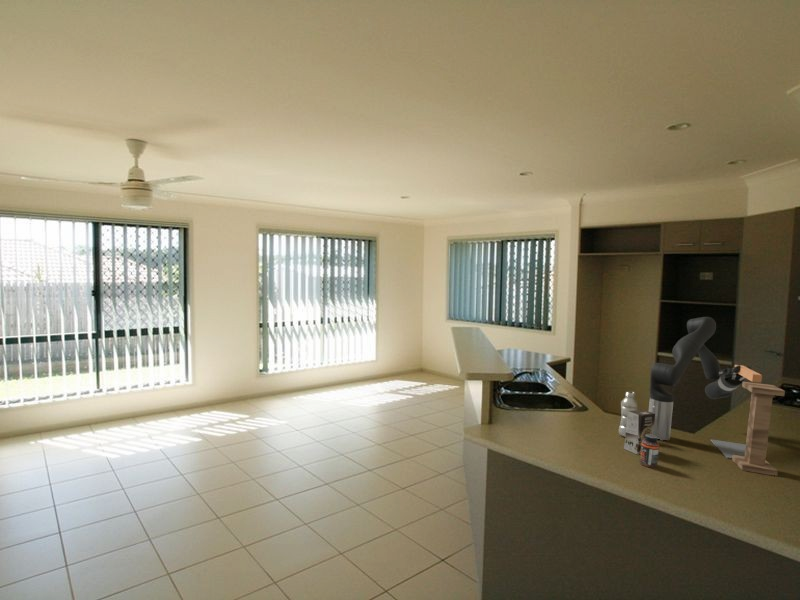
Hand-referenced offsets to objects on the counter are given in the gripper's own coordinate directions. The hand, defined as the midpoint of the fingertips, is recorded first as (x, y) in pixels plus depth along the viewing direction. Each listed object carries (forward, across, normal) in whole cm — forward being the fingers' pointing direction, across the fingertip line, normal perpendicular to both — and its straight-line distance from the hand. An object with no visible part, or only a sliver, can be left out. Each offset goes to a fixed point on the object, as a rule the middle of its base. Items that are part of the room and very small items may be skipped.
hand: (744, 368), depth 195 cm
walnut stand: (0, 0, +40) cm, 40 cm away
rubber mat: (-15, 0, +32) cm, 35 cm away
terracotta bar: (+2, 0, +4) cm, 5 cm away
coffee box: (+2, -41, +42) cm, 58 cm away
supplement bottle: (+15, -40, +49) cm, 65 cm away
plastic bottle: (-13, -43, +33) cm, 56 cm away
